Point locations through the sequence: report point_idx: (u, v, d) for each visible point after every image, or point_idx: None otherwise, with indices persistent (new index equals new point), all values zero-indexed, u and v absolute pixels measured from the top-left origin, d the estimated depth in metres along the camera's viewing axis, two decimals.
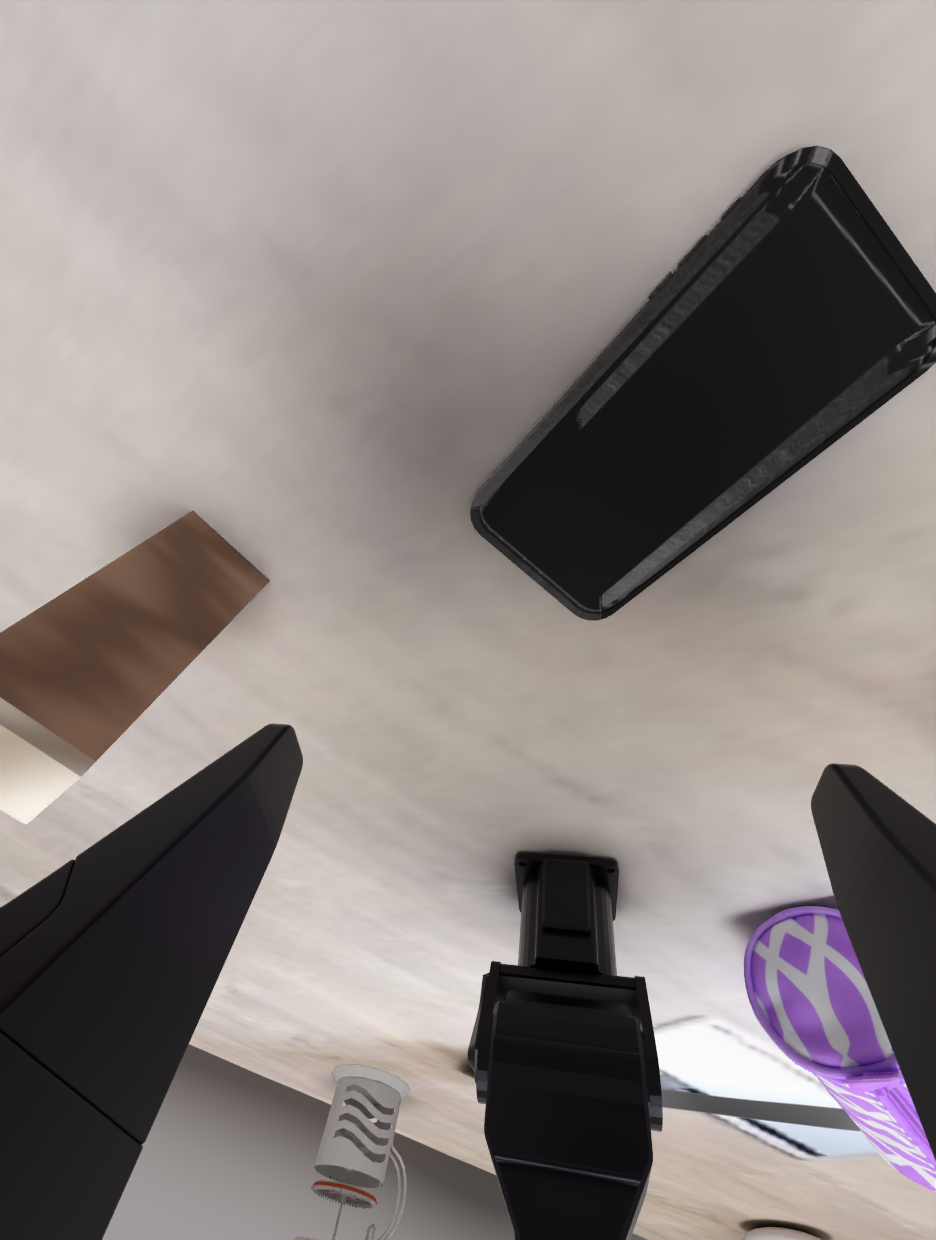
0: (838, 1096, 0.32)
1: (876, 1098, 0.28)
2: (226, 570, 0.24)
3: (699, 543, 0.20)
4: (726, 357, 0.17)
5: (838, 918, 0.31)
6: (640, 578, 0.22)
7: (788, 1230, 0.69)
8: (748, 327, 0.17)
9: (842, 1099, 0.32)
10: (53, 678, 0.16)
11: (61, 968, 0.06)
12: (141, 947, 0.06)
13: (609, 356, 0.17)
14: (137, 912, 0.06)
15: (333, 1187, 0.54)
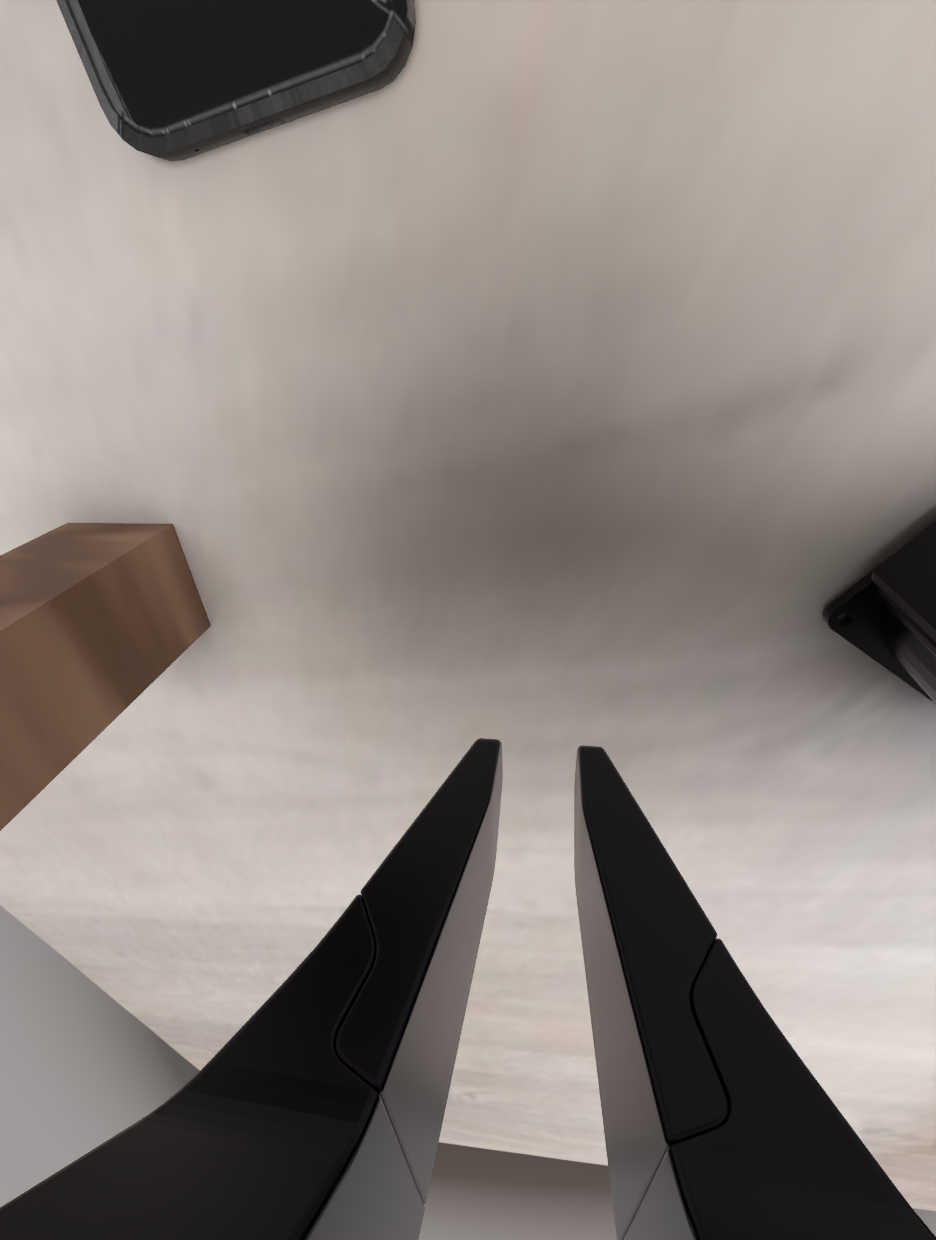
0: None
1: None
2: (104, 539, 0.19)
3: None
4: None
5: None
6: None
7: None
8: None
9: None
10: None
11: (410, 1024, 0.05)
12: (441, 992, 0.06)
13: None
14: (442, 954, 0.06)
15: None
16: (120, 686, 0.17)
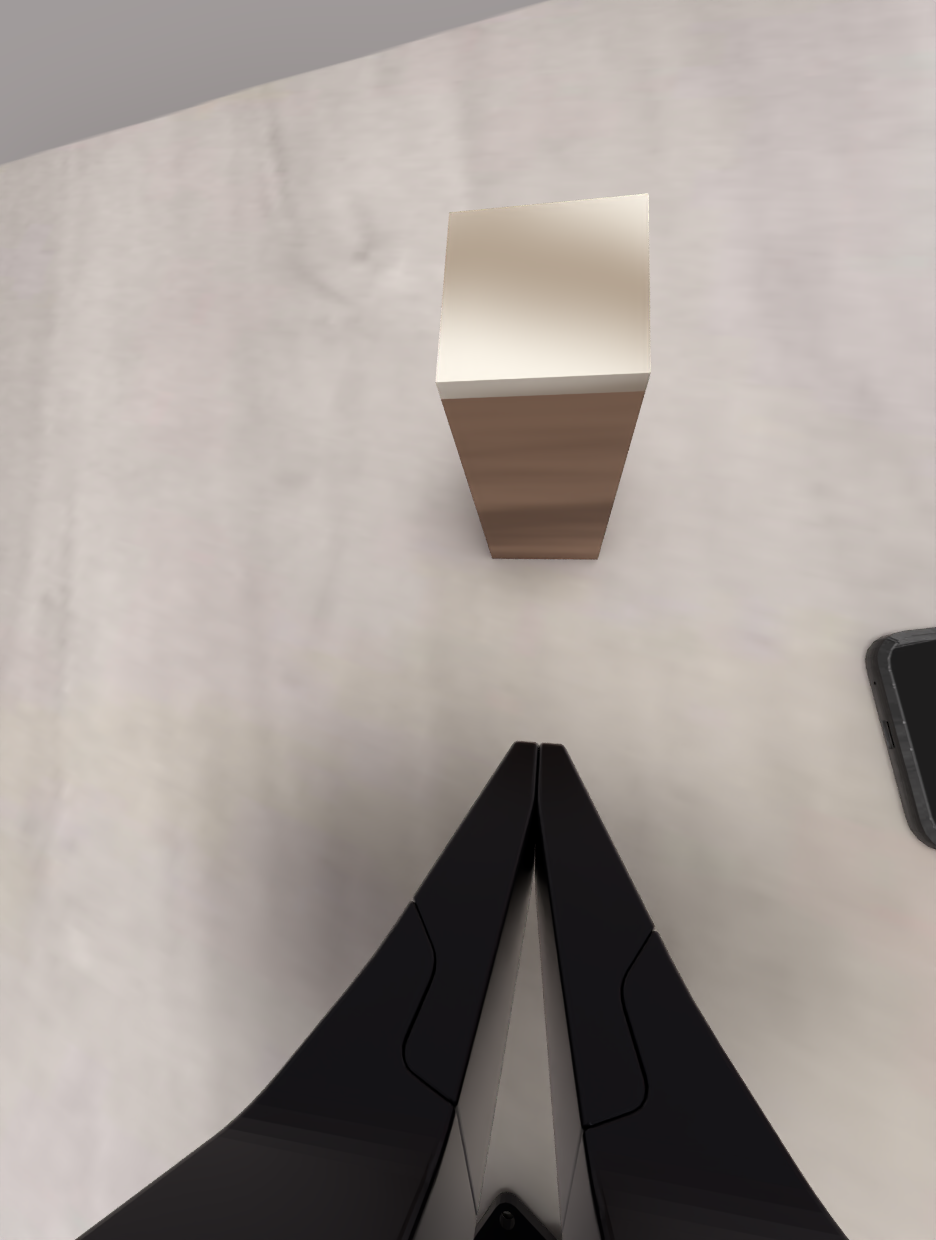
0: None
1: None
2: None
3: None
4: None
5: None
6: None
7: None
8: None
9: None
10: None
11: (476, 1034, 0.05)
12: (497, 1000, 0.06)
13: None
14: (499, 962, 0.06)
15: None
16: (500, 513, 0.18)
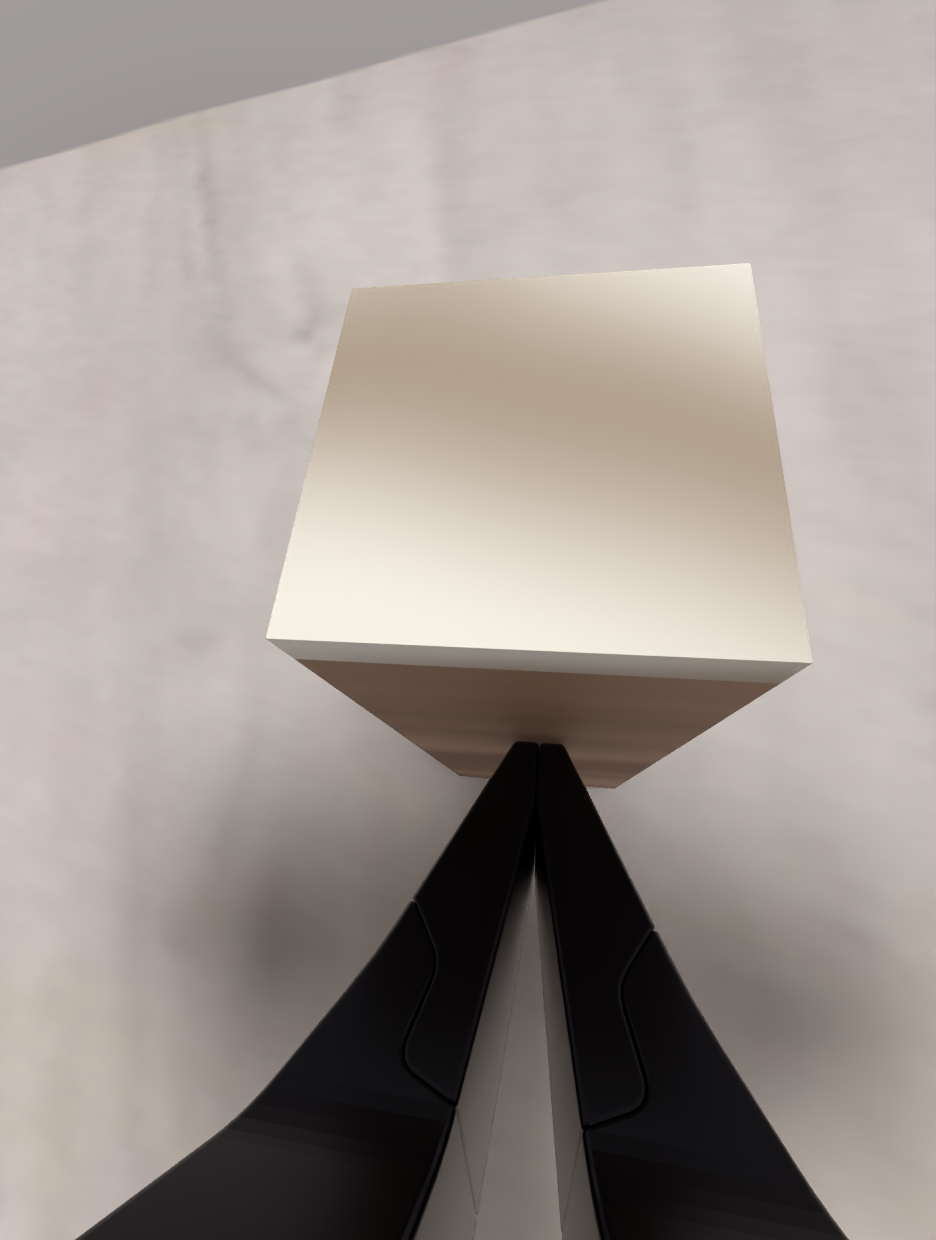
0: None
1: None
2: None
3: None
4: None
5: None
6: None
7: None
8: None
9: None
10: None
11: (476, 1034, 0.05)
12: (497, 1000, 0.06)
13: None
14: (499, 962, 0.06)
15: None
16: (463, 754, 0.11)
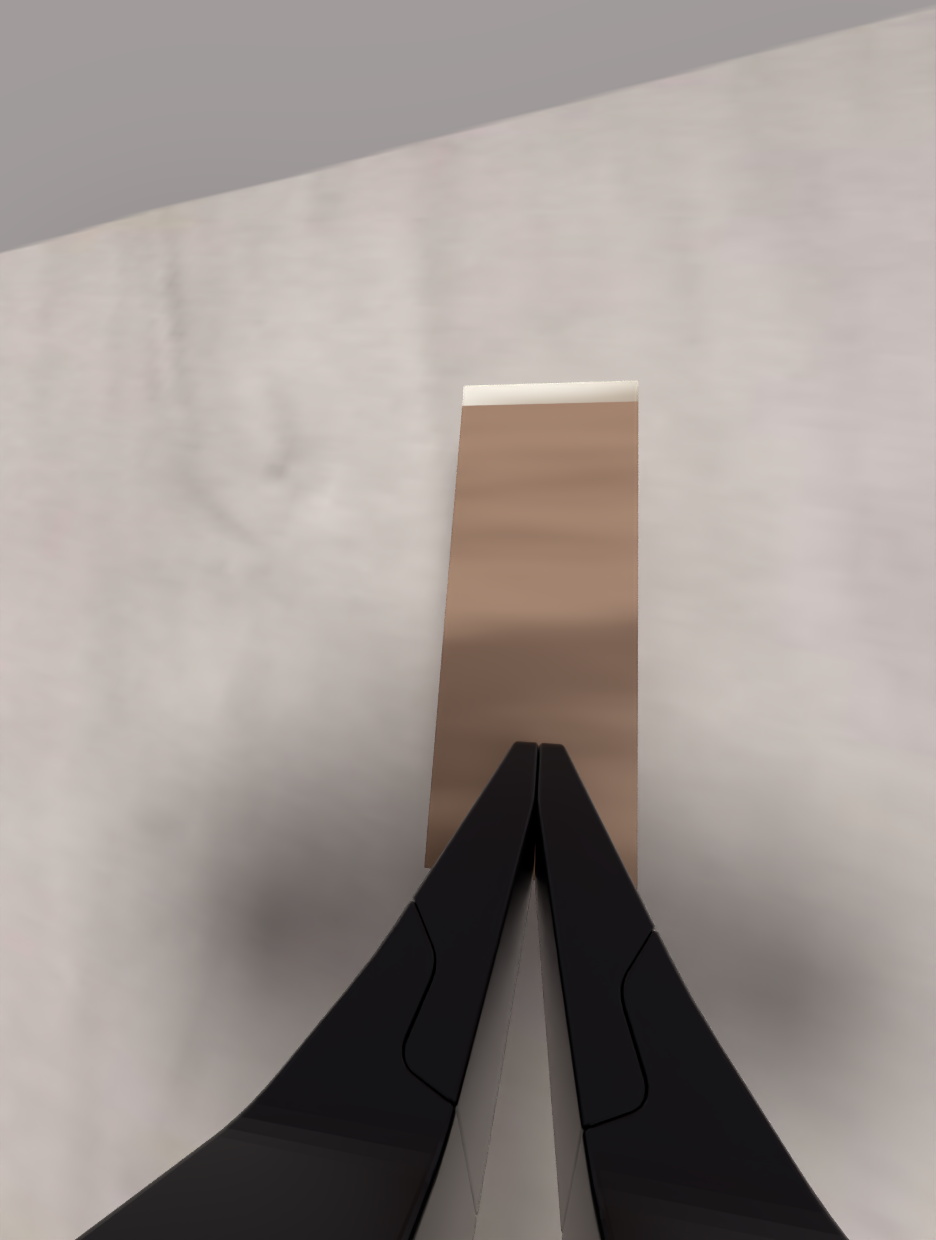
0: None
1: None
2: None
3: None
4: None
5: None
6: None
7: None
8: None
9: None
10: None
11: (476, 1034, 0.05)
12: (497, 1000, 0.06)
13: None
14: (499, 962, 0.06)
15: None
16: (475, 648, 0.12)
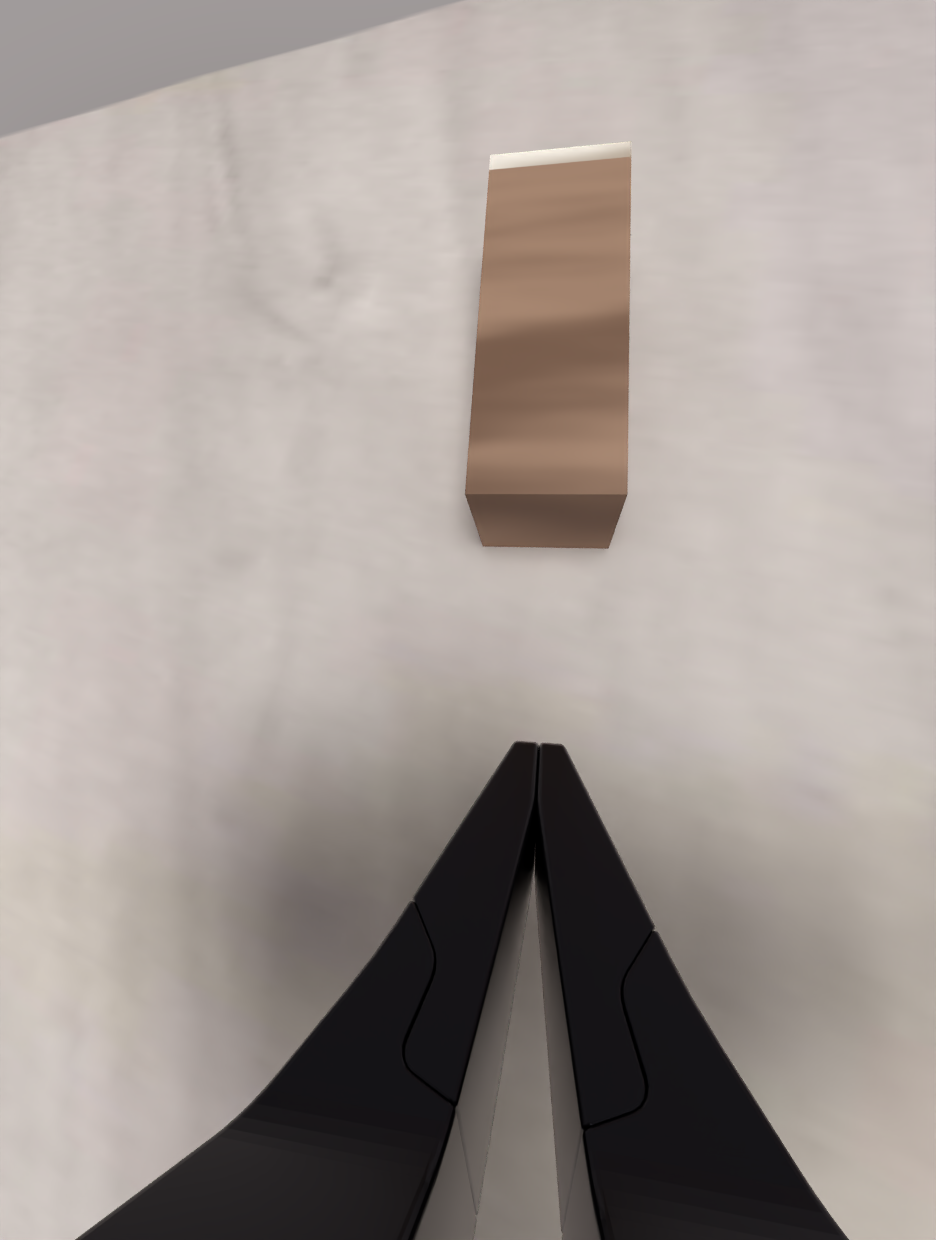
0: None
1: None
2: None
3: None
4: None
5: None
6: None
7: None
8: None
9: None
10: None
11: (476, 1034, 0.05)
12: (497, 1000, 0.06)
13: None
14: (499, 961, 0.06)
15: None
16: (502, 342, 0.16)
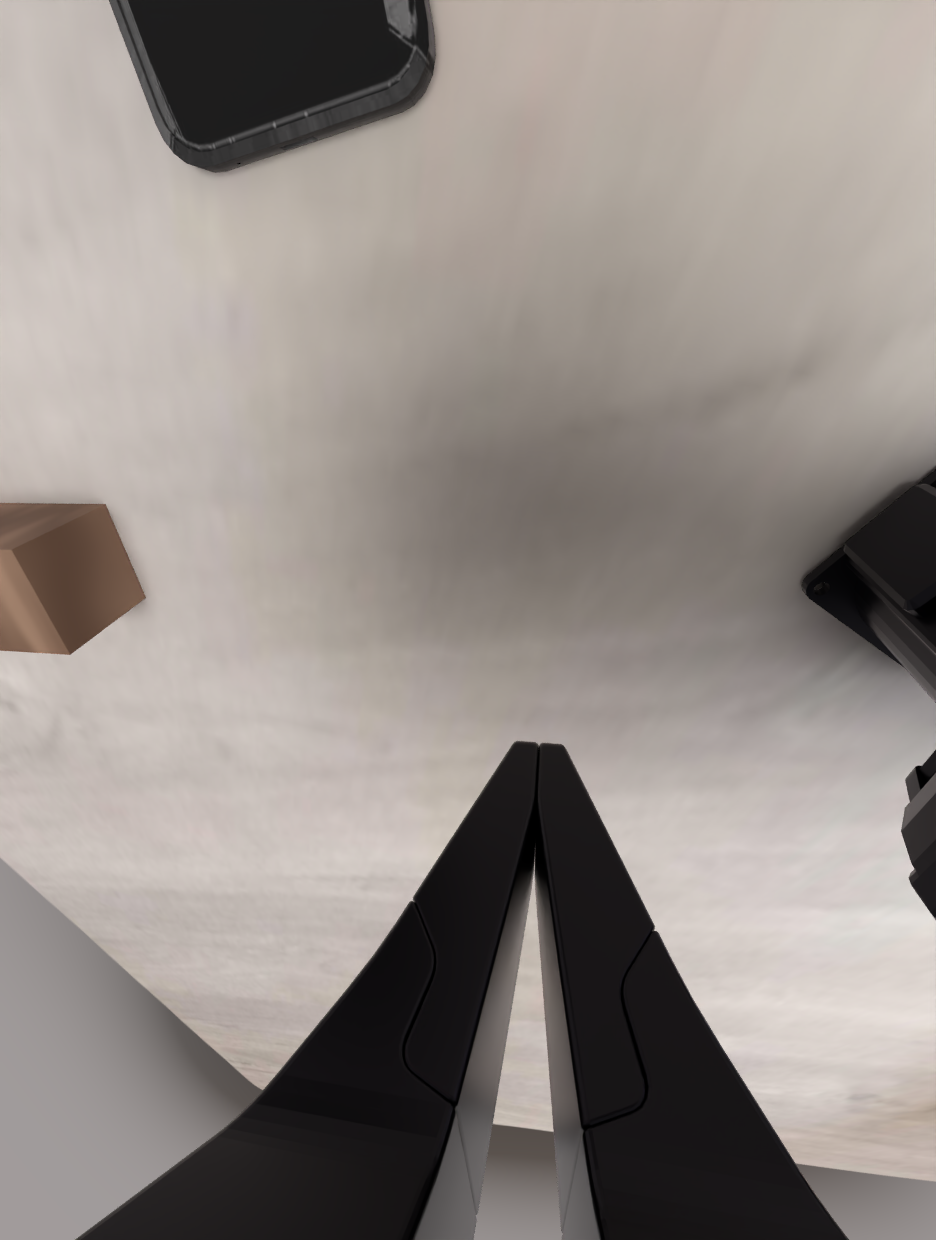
0: None
1: None
2: (17, 530, 0.20)
3: None
4: None
5: None
6: None
7: None
8: None
9: None
10: None
11: (476, 1034, 0.05)
12: (497, 1000, 0.06)
13: None
14: (499, 962, 0.06)
15: None
16: None
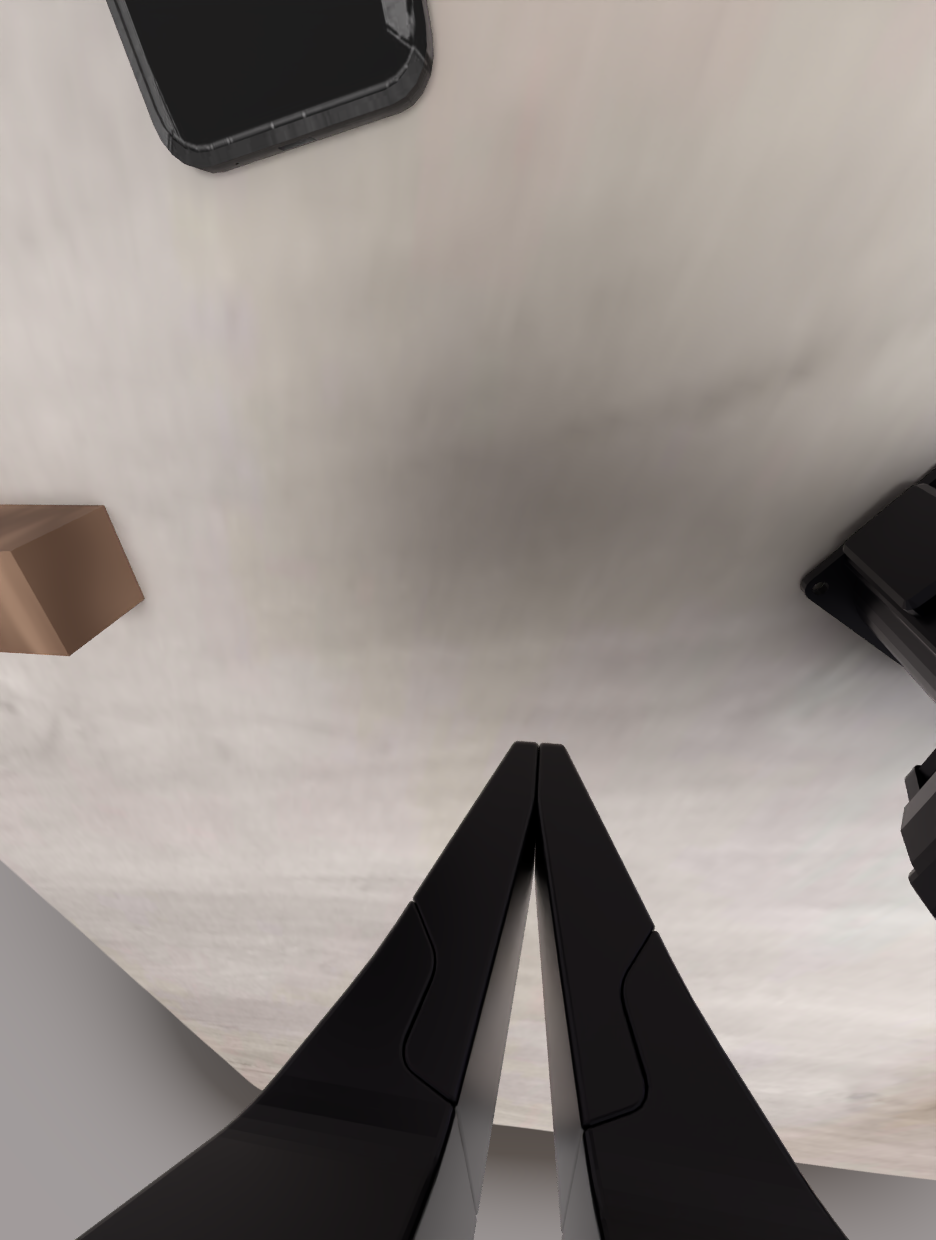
0: None
1: None
2: (16, 531, 0.20)
3: None
4: None
5: None
6: None
7: None
8: None
9: None
10: None
11: (476, 1034, 0.05)
12: (497, 1000, 0.06)
13: None
14: (499, 962, 0.06)
15: None
16: None
